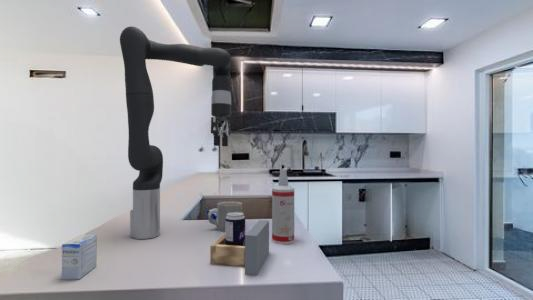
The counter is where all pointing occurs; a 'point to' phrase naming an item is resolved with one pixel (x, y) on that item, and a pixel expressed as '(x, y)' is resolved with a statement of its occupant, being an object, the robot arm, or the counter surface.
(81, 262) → the medicine box
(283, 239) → the spray bottle
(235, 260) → the wooden box
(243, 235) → the beverage can
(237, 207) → the coffee mug
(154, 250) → the counter surface
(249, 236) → the wall
